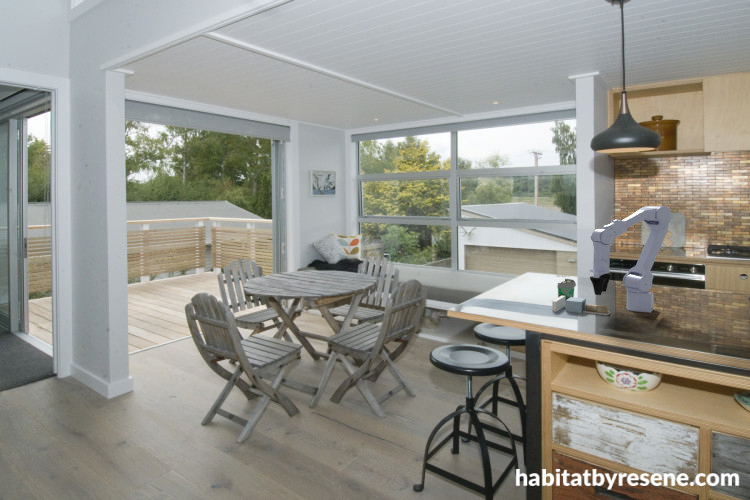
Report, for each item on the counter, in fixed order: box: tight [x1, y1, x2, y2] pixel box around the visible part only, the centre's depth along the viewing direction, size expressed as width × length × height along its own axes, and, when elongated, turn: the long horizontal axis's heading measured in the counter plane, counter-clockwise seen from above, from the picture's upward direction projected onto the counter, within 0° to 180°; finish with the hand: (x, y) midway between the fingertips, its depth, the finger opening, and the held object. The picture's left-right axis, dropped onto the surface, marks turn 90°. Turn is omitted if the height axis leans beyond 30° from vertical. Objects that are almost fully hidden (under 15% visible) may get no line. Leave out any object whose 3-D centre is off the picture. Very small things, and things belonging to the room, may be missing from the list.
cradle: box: [582, 310, 611, 316], centre depth 188 cm, size 9×5×2 cm, turn 51°
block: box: [565, 296, 587, 314], centre depth 193 cm, size 6×7×6 cm
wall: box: [551, 296, 566, 313], centre depth 197 cm, size 2×12×6 cm, turn 141°
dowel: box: [584, 303, 609, 315], centre depth 188 cm, size 8×3×3 cm, turn 51°
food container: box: [557, 278, 577, 303], centre depth 211 cm, size 12×6×10 cm, turn 143°
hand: (600, 293), depth 186 cm, fingers open, 7 cm apart
